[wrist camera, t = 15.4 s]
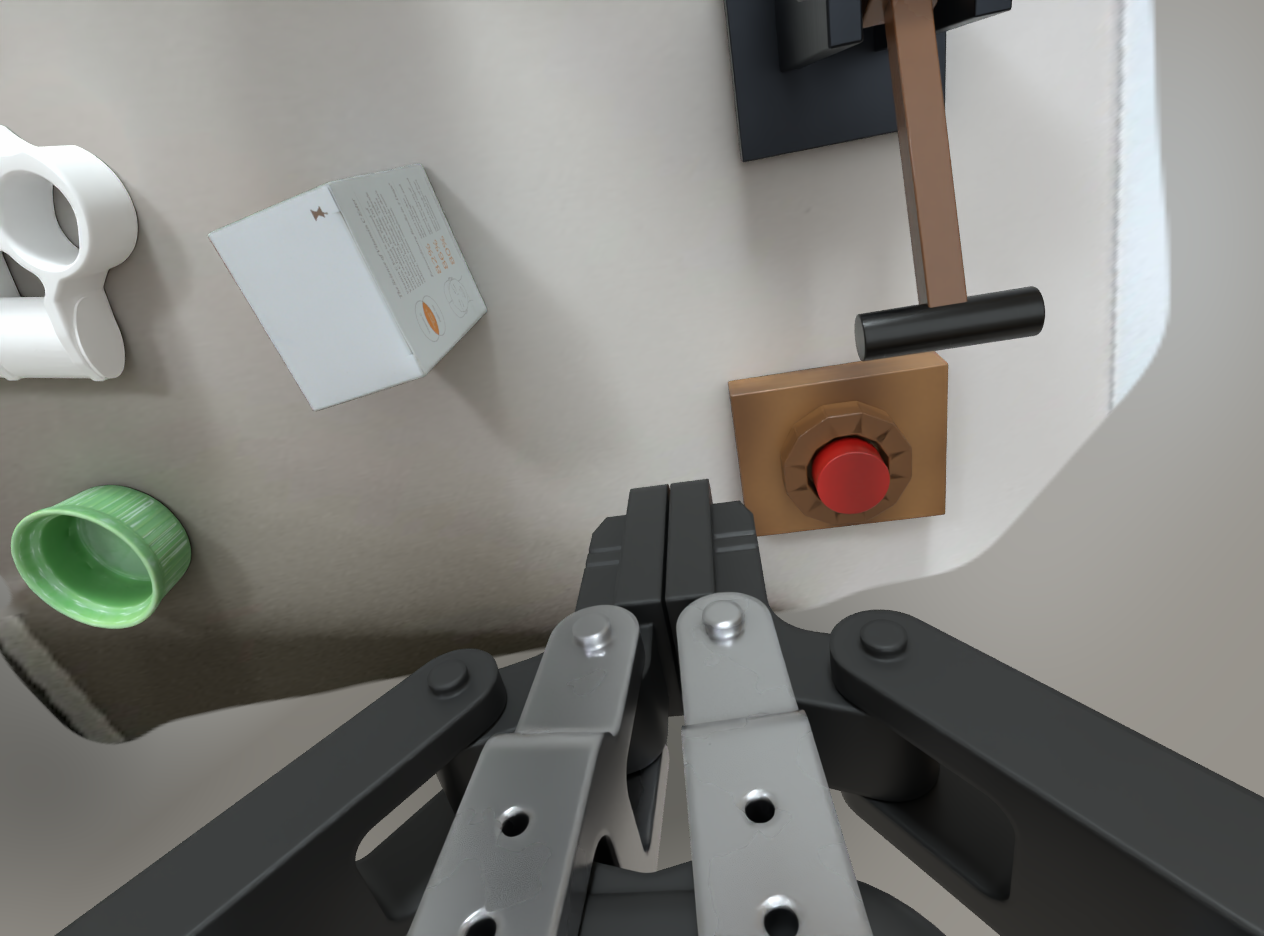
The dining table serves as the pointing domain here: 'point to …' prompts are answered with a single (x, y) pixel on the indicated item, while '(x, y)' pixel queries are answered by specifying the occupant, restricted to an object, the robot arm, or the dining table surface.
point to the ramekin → (102, 555)
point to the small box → (354, 282)
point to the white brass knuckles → (60, 262)
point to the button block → (835, 409)
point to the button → (850, 476)
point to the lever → (932, 211)
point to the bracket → (820, 70)
